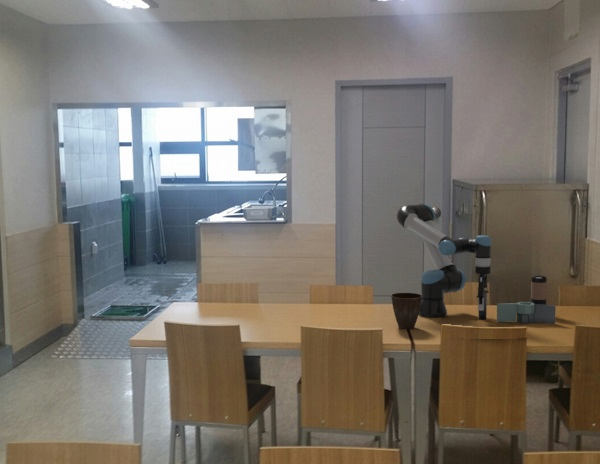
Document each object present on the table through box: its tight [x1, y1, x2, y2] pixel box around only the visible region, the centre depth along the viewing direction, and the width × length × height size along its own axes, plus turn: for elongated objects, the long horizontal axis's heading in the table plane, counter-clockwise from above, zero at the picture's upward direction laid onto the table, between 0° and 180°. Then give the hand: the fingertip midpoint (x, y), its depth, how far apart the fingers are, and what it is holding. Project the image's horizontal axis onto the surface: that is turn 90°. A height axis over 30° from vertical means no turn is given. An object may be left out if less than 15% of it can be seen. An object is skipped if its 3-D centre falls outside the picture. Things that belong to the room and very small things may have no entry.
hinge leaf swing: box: [496, 301, 535, 323], centre depth 339 cm, size 18×8×9 cm, turn 87°
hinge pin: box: [478, 287, 489, 321], centre depth 347 cm, size 5×5×16 cm
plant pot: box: [390, 292, 422, 330], centre depth 331 cm, size 15×15×16 cm
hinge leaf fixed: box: [516, 304, 557, 325], centre depth 337 cm, size 18×8×9 cm, turn 67°
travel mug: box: [530, 275, 548, 305], centre depth 354 cm, size 8×8×20 cm
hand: (482, 307), depth 347 cm, fingers open, 11 cm apart
